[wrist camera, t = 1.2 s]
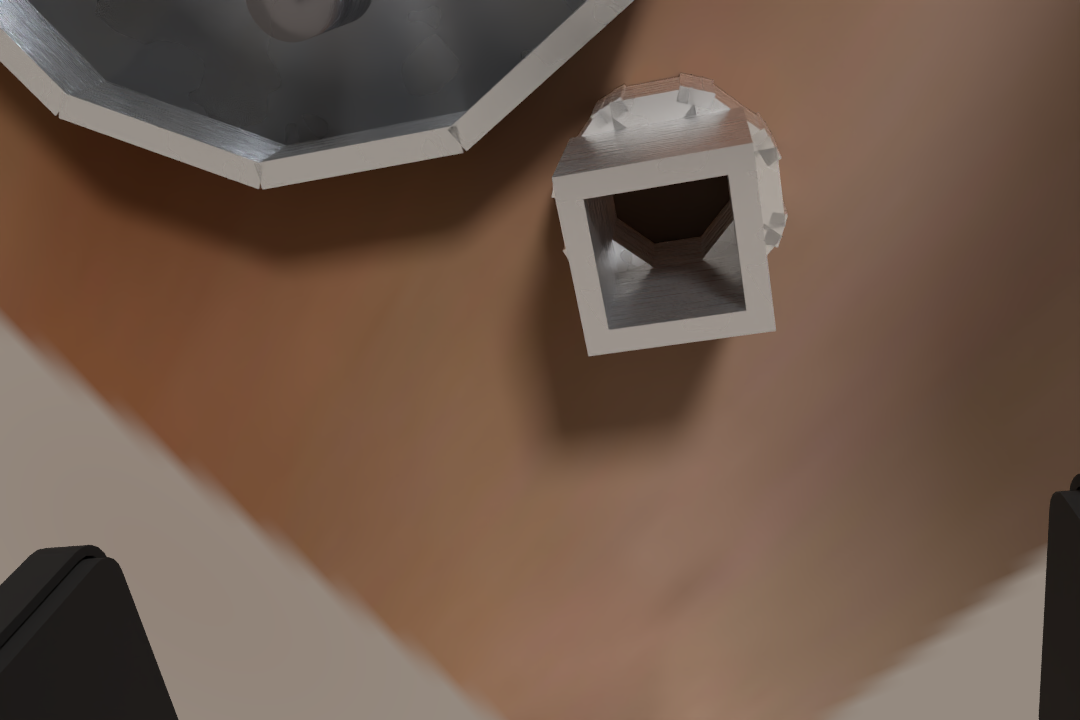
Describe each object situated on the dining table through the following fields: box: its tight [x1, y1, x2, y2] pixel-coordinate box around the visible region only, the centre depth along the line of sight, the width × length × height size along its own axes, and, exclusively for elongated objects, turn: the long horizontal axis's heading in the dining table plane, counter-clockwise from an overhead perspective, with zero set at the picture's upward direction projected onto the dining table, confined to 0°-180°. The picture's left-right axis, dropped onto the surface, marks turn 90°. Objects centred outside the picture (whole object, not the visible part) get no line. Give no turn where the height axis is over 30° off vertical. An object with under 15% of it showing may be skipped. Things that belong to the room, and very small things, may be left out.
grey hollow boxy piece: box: [552, 73, 788, 356], centre depth 25 cm, size 6×6×6 cm
